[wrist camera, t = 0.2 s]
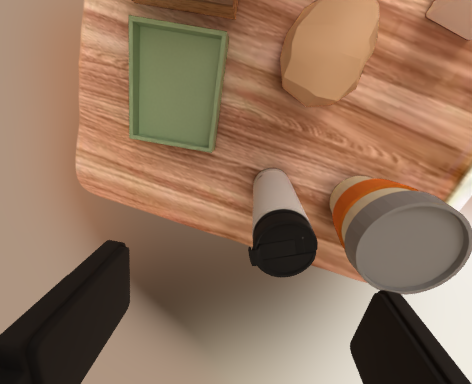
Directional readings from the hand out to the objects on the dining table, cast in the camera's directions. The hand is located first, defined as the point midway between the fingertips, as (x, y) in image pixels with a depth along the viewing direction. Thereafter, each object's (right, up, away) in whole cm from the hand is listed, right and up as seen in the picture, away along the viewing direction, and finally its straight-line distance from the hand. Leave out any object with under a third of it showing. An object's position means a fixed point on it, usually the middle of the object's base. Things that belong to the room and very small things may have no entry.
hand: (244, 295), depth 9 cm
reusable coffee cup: (+20, +3, +31) cm, 37 cm away
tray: (-9, +20, +27) cm, 34 cm away
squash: (+12, +26, +23) cm, 37 cm away
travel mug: (+6, +5, +31) cm, 32 cm away
